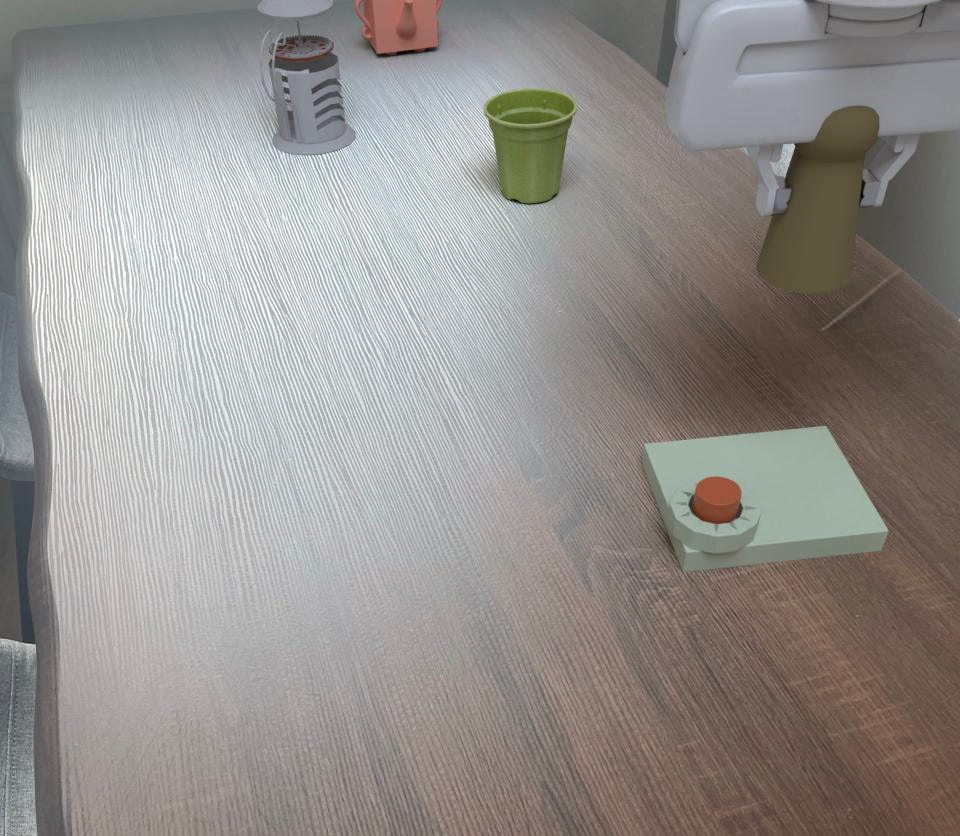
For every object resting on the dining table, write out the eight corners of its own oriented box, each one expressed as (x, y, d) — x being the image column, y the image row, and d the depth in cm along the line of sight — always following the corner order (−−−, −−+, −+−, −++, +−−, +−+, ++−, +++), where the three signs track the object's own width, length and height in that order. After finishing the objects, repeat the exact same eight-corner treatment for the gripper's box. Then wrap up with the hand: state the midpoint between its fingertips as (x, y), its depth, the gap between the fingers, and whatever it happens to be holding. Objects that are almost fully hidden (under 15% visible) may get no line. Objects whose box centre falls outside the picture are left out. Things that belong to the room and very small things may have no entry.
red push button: (730, 494, 70) (734, 473, 69) (743, 522, 68) (747, 502, 67) (687, 498, 70) (690, 478, 68) (699, 527, 68) (702, 507, 66)
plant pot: (497, 217, 105) (496, 129, 99) (476, 179, 111) (473, 93, 105) (585, 205, 106) (589, 117, 100) (559, 168, 112) (561, 83, 106)
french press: (371, 128, 121) (346, -132, 103) (317, 167, 114) (279, -104, 96) (302, 115, 124) (265, -139, 106) (245, 152, 117) (195, -113, 99)
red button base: (820, 445, 78) (831, 407, 76) (884, 555, 70) (898, 517, 67) (635, 464, 77) (639, 426, 75) (677, 578, 69) (684, 539, 66)
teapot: (430, 24, 145) (427, -45, 139) (458, 59, 136) (455, -13, 129) (348, 34, 143) (341, -35, 137) (370, 71, 134) (364, -2, 127)
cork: (737, 272, 67) (768, 91, 58) (788, 238, 69) (824, 61, 61) (820, 304, 64) (864, 118, 56) (868, 267, 67) (918, 85, 58)
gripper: (697, -23, 50) (666, 245, 61) (1092, -49, 52) (997, 218, 62) (666, -58, 55) (642, 198, 65) (1032, -82, 56) (952, 173, 66)
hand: (818, 207), depth 63 cm, fingers closed on cork, 4 cm apart
